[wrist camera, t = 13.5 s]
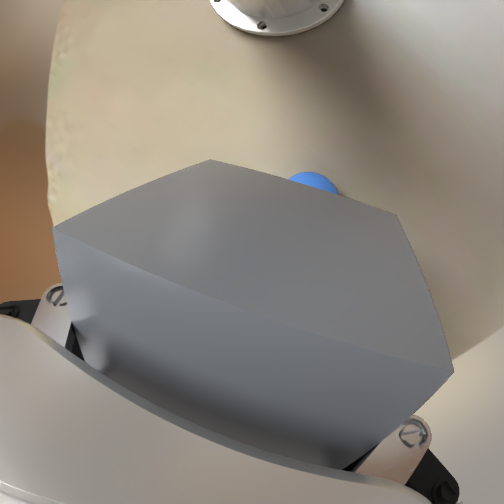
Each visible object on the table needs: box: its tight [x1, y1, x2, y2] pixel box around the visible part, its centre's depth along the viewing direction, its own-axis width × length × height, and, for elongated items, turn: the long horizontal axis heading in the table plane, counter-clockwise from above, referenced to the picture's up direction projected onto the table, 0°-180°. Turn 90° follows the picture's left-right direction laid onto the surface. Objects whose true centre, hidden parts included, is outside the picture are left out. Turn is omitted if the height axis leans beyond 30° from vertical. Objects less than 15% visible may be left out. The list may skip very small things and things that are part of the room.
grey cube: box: [52, 160, 454, 470], centre depth 9 cm, size 8×8×8 cm
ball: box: [288, 172, 338, 195], centre depth 23 cm, size 5×5×5 cm
